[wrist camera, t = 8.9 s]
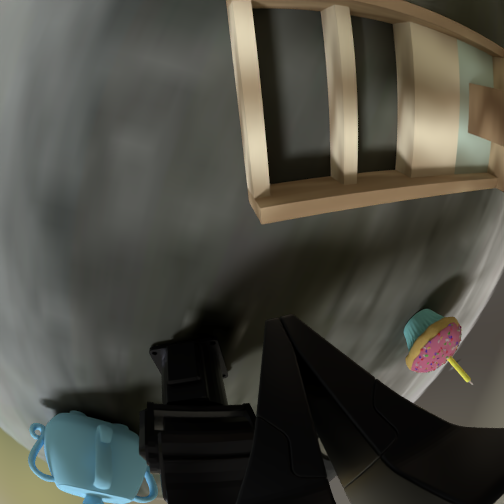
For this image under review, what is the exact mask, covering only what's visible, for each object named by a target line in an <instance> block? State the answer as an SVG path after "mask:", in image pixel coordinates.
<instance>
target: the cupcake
mask: <svg viewBox="0 0 504 504" xmlns="http://www.w3.org/2000/svg"><path fill="white" fill-rule="evenodd" d="M404 335H405V338H406V341H407V345H408V349H409V354H408V355H407V357H406V364H407V366H408V368H409V369H410V370H412V371H413V372H418V373H421V372H429V371H432V370H435V369H436V368H438V367H440V366H441V365H443V364H445V363H446V361H447V360H448V361H449V362H450V363H451V365H452V366H453V367H454V368H455V369H456V370H457V371H458V373H459V374H460V375H461V376H462V377H463V378H464V380H465V381H466V382H470V383H471V384H472V385H473V383H472V382H471V381H470V379H471V378H470V377H469V376H468V375H467V374H466V373H465V372H464V370H463V369H462V368H461V367H460V366H459V365H458V363H457V362H456V361H455V360H454V359H453V358H452V356H453V354H454V353H455V352H456V350H457V347H458V346H459V342H460V341H461V335H462V334H461V326H460V324H459V323H458V321H457V319H456V318H455V317H443V316H441V315H439V314H437V313H435V312H433V311H432V310H430V309H423V310H421V311H419V312H418V313H416V314H415V315H414V316H413V317H412V318H411V319H410V320H409V321H408V323H407V324H406V326H405V328H404Z"/></svg>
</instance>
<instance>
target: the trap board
mask: <svg viewBox="0 0 504 504" xmlns="http://www.w3.org/2000/svg"><path fill="white" fill-rule="evenodd" d="M226 4H227V13H228V21H229V30H230V38H231V47H232V55H233V64H234V73H235V81H236V90H237V99H238V108H239V116H240V125H241V134H242V143H243V151H244V160H245V169H246V178H247V187H248V196H249V202H250V204H251V206H252V208H253V210H254V211H255V213H256V215H257V217H258V218H259V220H260V222H261V224H266V223H272V222H277V221H283V220H288V219H294V218H300V217H305V216H311V215H317V214H322V213H328V212H334V211H340V210H346V209H352V208H358V207H365V206H371V205H377V204H383V203H390V202H396V201H403V200H410V199H416V198H423V197H430V196H437V195H445V194H452V193H459V192H467V191H474V190H482V189H490V188H497V189H499V190H501V191H503V192H504V147H503V146H501V145H498V144H496V143H493V142H491V141H489V140H486V139H483V138H481V137H478V136H475V135H473V134H470V133H468V120H469V83H472V84H477V85H482V86H486V87H491V88H495V89H499V90H503V91H504V48H502V47H500V46H499V45H497V44H496V43H494V42H492V41H491V40H489V39H487V38H485V37H484V36H482V35H480V34H478V33H477V32H475V31H473V30H471V29H469V28H467V27H465V26H463V25H461V24H459V23H457V22H455V21H453V20H451V19H449V18H446V17H444V16H442V15H440V14H437V13H435V12H432V11H430V10H427V9H425V8H422V7H420V6H417V5H414V4H412V3H409V2H406V1H403V0H226ZM252 8H280V9H301V10H314V11H321V19H322V27H323V36H324V46H325V56H326V68H327V81H328V98H329V119H330V164H331V176H327V177H319V178H311V179H304V180H297V181H290V182H283V183H276V184H270V183H269V171H268V159H267V147H266V136H265V125H264V115H263V104H262V94H261V84H260V75H259V65H258V56H257V47H256V38H255V30H254V21H253V13H252ZM350 15H352V16H358V17H363V18H368V19H373V20H378V21H382V22H386V23H390V24H393V33H394V42H395V54H396V68H397V95H398V124H397V151H396V167H395V170H386V171H374V172H364V173H357V163H358V109H357V83H356V67H355V54H354V43H353V34H352V25H351V17H350Z"/></svg>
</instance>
